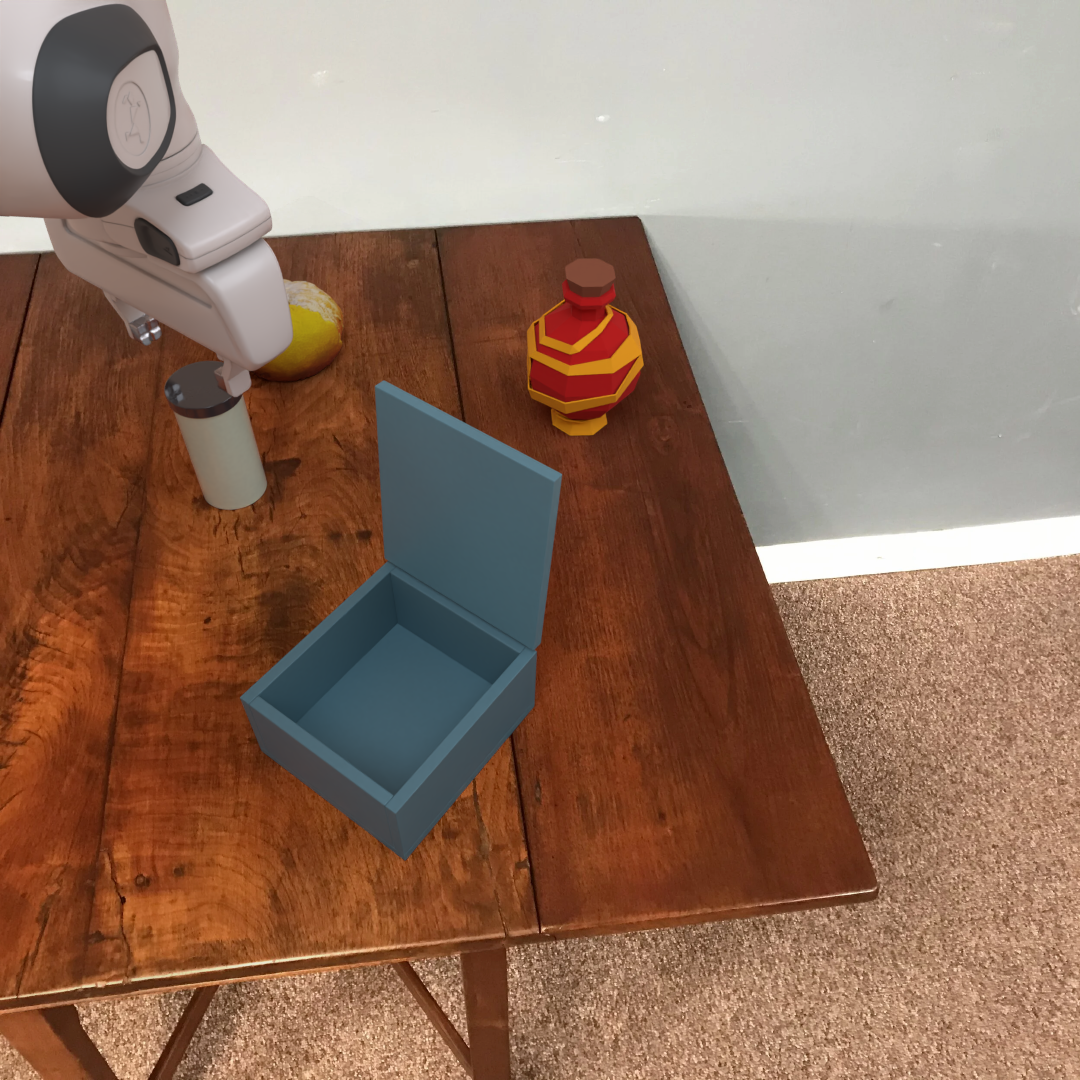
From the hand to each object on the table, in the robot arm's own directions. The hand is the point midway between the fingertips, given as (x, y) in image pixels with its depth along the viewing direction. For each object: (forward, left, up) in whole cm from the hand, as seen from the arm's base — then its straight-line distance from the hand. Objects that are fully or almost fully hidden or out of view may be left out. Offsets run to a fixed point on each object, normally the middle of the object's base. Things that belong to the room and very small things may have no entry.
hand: (190, 363), depth 68 cm
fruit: (+4, +18, -13) cm, 23 cm away
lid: (+18, -19, +1) cm, 26 cm away
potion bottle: (+30, +6, -13) cm, 34 cm away
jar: (0, 0, -13) cm, 13 cm away
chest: (+13, -24, -13) cm, 30 cm away
